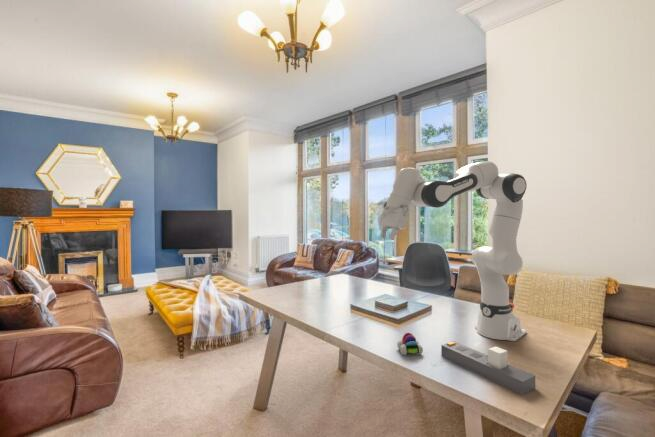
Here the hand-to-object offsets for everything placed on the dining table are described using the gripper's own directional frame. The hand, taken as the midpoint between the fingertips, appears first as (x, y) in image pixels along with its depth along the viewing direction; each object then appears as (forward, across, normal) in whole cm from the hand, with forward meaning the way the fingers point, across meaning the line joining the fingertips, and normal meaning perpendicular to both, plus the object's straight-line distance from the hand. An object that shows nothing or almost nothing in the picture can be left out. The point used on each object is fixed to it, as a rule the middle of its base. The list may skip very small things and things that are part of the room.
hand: (386, 238), depth 127 cm
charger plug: (+32, -25, -43) cm, 59 cm away
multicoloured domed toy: (+39, 0, -25) cm, 46 cm away
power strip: (+33, -20, -42) cm, 57 cm away
